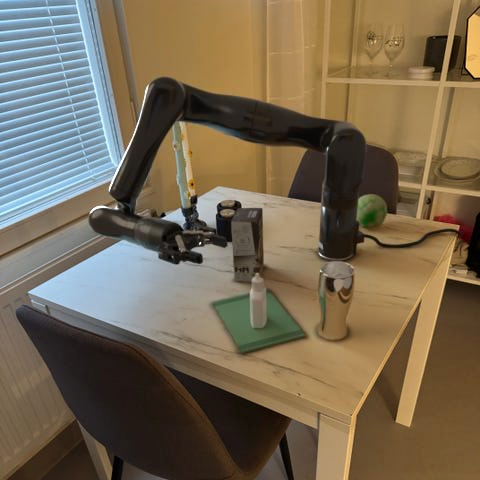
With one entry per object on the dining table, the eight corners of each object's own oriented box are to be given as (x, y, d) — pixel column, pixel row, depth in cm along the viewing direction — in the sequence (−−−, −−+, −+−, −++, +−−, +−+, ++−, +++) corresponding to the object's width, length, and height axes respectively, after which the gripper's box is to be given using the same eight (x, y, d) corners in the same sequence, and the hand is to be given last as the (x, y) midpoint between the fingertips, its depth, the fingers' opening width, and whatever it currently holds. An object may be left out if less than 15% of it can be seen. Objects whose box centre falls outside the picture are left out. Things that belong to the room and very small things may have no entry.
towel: (268, 290, 112) (268, 288, 111) (304, 336, 96) (305, 334, 96) (213, 303, 108) (212, 301, 108) (241, 353, 93) (241, 351, 92)
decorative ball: (370, 218, 143) (374, 186, 138) (391, 230, 136) (396, 197, 130) (344, 225, 140) (346, 193, 135) (364, 237, 133) (367, 204, 127)
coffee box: (259, 282, 115) (257, 222, 106) (233, 281, 116) (229, 221, 107) (264, 265, 122) (263, 207, 113) (241, 264, 123) (237, 206, 114)
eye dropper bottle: (274, 318, 101) (273, 270, 94) (260, 331, 97) (258, 282, 90) (257, 312, 103) (256, 265, 96) (243, 325, 99) (240, 276, 93)
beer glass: (312, 323, 100) (315, 261, 91) (344, 320, 100) (350, 258, 91) (319, 343, 94) (323, 279, 85) (353, 339, 94) (360, 276, 86)
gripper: (133, 232, 99) (190, 248, 91) (177, 209, 108) (233, 222, 100) (139, 263, 103) (195, 281, 95) (181, 238, 112) (235, 253, 104)
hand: (214, 250), depth 97 cm, fingers open, 8 cm apart
